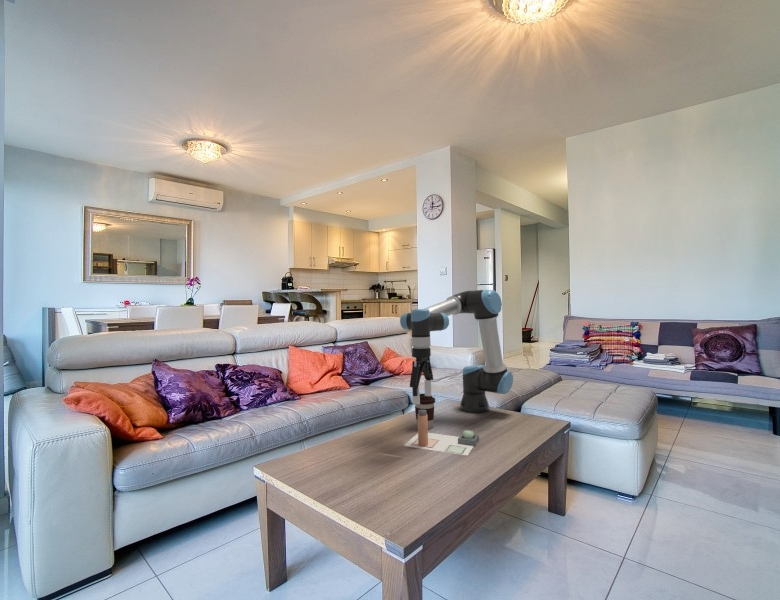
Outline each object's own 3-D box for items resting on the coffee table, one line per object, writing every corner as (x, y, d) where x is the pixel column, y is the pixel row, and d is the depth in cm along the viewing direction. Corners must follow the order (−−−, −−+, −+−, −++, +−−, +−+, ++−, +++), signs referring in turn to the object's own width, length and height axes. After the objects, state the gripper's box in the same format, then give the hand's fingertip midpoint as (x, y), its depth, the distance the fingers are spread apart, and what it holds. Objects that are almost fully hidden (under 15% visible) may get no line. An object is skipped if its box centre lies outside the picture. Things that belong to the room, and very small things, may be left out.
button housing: (462, 437, 159) (462, 433, 159) (479, 440, 156) (478, 435, 156) (457, 443, 153) (457, 438, 153) (475, 445, 150) (475, 440, 150)
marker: (420, 442, 155) (419, 408, 155) (429, 443, 153) (428, 409, 154) (416, 445, 151) (416, 411, 152) (426, 446, 150) (425, 412, 150)
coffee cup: (435, 424, 179) (434, 392, 179) (436, 431, 169) (435, 397, 169) (414, 424, 180) (413, 392, 180) (413, 431, 170) (413, 397, 170)
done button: (464, 437, 157) (464, 429, 157) (474, 438, 155) (474, 431, 156) (462, 440, 154) (462, 432, 154) (472, 442, 152) (472, 434, 152)
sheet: (419, 432, 168) (419, 431, 168) (478, 440, 157) (478, 439, 157) (403, 446, 152) (403, 445, 152) (467, 456, 141) (467, 455, 141)
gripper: (423, 343, 166) (424, 392, 165) (400, 350, 143) (401, 406, 143) (439, 344, 162) (440, 393, 162) (418, 351, 140) (420, 408, 140)
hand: (422, 399), depth 153 cm, fingers open, 13 cm apart
